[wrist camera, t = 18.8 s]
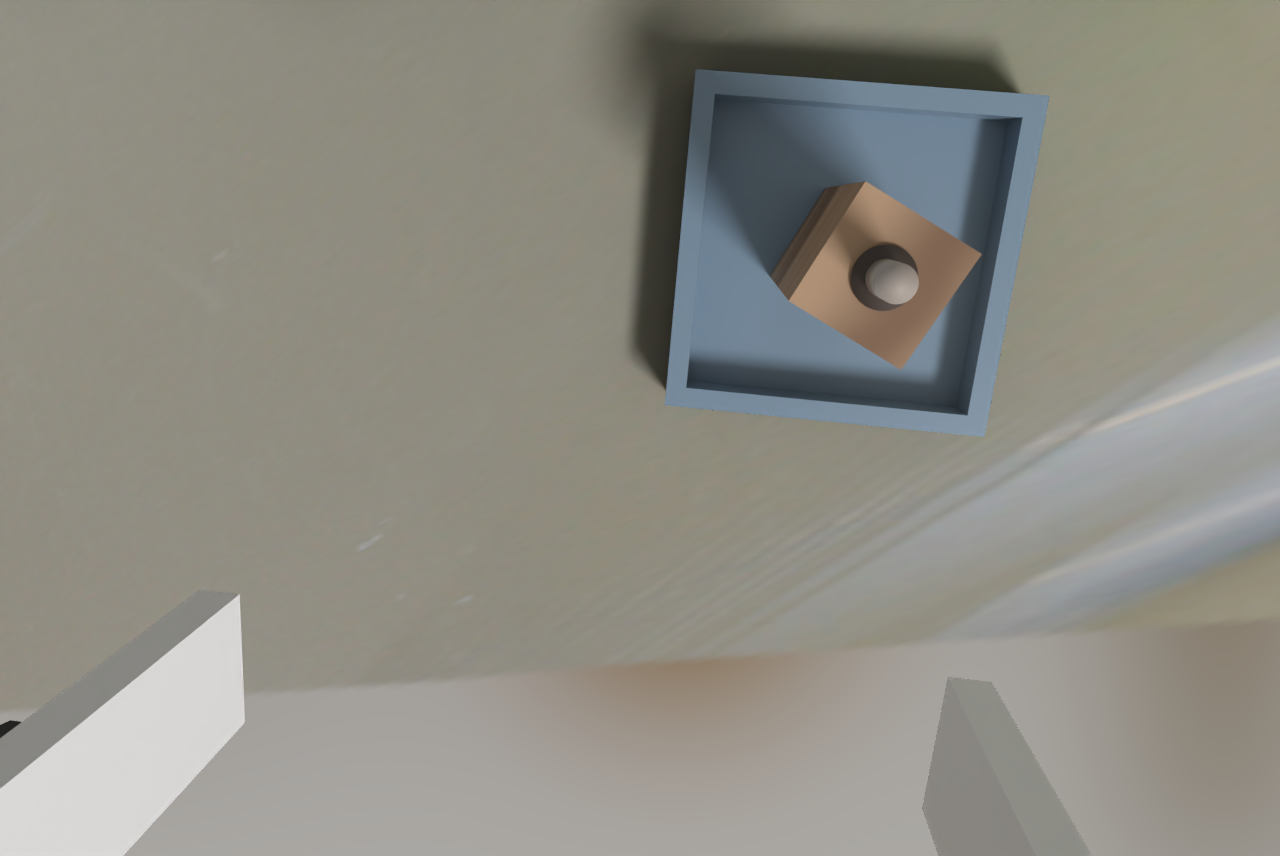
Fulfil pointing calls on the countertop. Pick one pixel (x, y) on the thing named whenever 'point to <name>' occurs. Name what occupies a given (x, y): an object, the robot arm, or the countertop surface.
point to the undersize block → (872, 269)
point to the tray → (780, 202)
